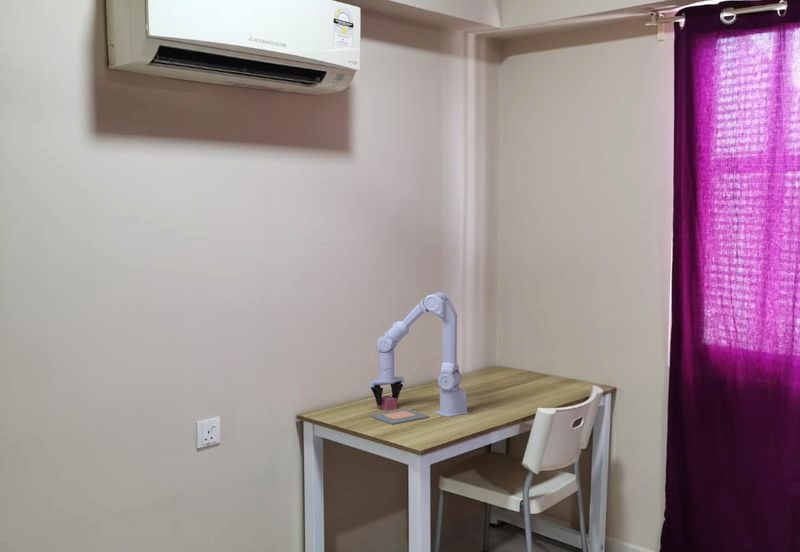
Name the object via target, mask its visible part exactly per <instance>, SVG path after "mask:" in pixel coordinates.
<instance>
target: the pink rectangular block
mask: <svg viewBox="0 0 800 552" xmlns="http://www.w3.org/2000/svg"><path fill="white" fill-rule="evenodd" d="M376 408H378V409H381V410H384V411H385V412H389V411H395V410H398V400H397V399H396V398H393V397H392V396H389V395H382V404H381V406H379V405H377V404H376Z"/></svg>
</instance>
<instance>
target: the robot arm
mask: <svg viewBox="0 0 800 552" xmlns="http://www.w3.org/2000/svg"><path fill="white" fill-rule="evenodd" d="M428 312H430V313H432V314H434V315H436V316H438V318H440V320H442V364H441V368H440V374H439V376H438V378H437V385H438V387H439V410H436V411H434V413H435V414H438V415H442V416H444V417H447V418H448V417H455V416H460V415H465V414H469V411H468V409H467V406H468V403H467V400H468V396H467V392H466V390H465V389H464V388H463V387H460V383H461V381H462V375H461V372H460V365H459V364H458V360H457V359H458V358H457V356H458V349H457V348H458V313H457V312H456V309H455V308H454V305H453V304H452V302H451V299H450V297H449V296H448V295H446V293H444V292H441V291H438V292H434V293H433V294H432V293H431V294H429V295H427V296H426V297H425V298H423V299H422V300H421V301H419V303H417V305H416V306H415V307H414V308H413V309H412V310H411V311H410V312H409V314H408V315H406V317H405V318H404V319H403V320H398V321H397V320H396V321H394V322H393V323H392V326H391V327H390V328H389V329H388V330H387V331H384V332H383V333H384V335H383V336H379V338H378V339H377V341H376V349H377V350H378V379H374V380H370V381H368V387H369V388H370V389H371V392H372V393H373V396H374V398H375V402H376V406H377V405H379V406H381V404H382V396H383V392H384V388H383V387H382V386H387V385H390V388H391V397H393V398H396V399H397V401H398V399H399V396H400V393H401V390H402V388H403V387H404V384H403V383H405V377H404V376H395V348H396V347H397V344H399V342H401V341H402V340H403V338H404V337H406V335H407V334H409V331H410V327H411V326H412V325H413V324H414V323H415V322H416V321H417V320H418V319H419V318H421V316H422V315H424V314H426V313H428Z"/></svg>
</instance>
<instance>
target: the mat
mask: <svg viewBox="0 0 800 552" xmlns="http://www.w3.org/2000/svg"><path fill="white" fill-rule="evenodd" d="M369 417H370V418H372V419H375V420H378V421H381V422H383V423H386V424H388V425H393V426H394V425H398V424H404V423H408V422H409V423H410V422H415V421H420V420H426V419H430V415H427V414H423V413H421V412H419V411H415V410H413V409H410V408H402V409H394V410H389V411H385V412H380V413H374V414H370V415H369Z"/></svg>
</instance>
